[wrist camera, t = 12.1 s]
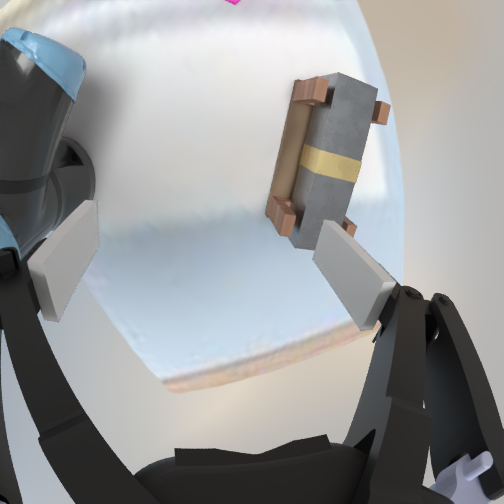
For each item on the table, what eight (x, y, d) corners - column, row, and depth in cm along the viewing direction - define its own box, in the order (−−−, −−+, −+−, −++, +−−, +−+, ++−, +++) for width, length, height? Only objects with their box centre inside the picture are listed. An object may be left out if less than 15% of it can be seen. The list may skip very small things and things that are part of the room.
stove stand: (265, 213, 45) (278, 238, 36) (295, 80, 35) (318, 72, 27) (325, 223, 47) (349, 248, 39) (357, 101, 38) (391, 102, 29)
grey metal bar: (318, 234, 44) (333, 252, 39) (282, 229, 43) (294, 248, 37) (356, 90, 34) (379, 89, 28) (319, 76, 32) (338, 72, 27)
